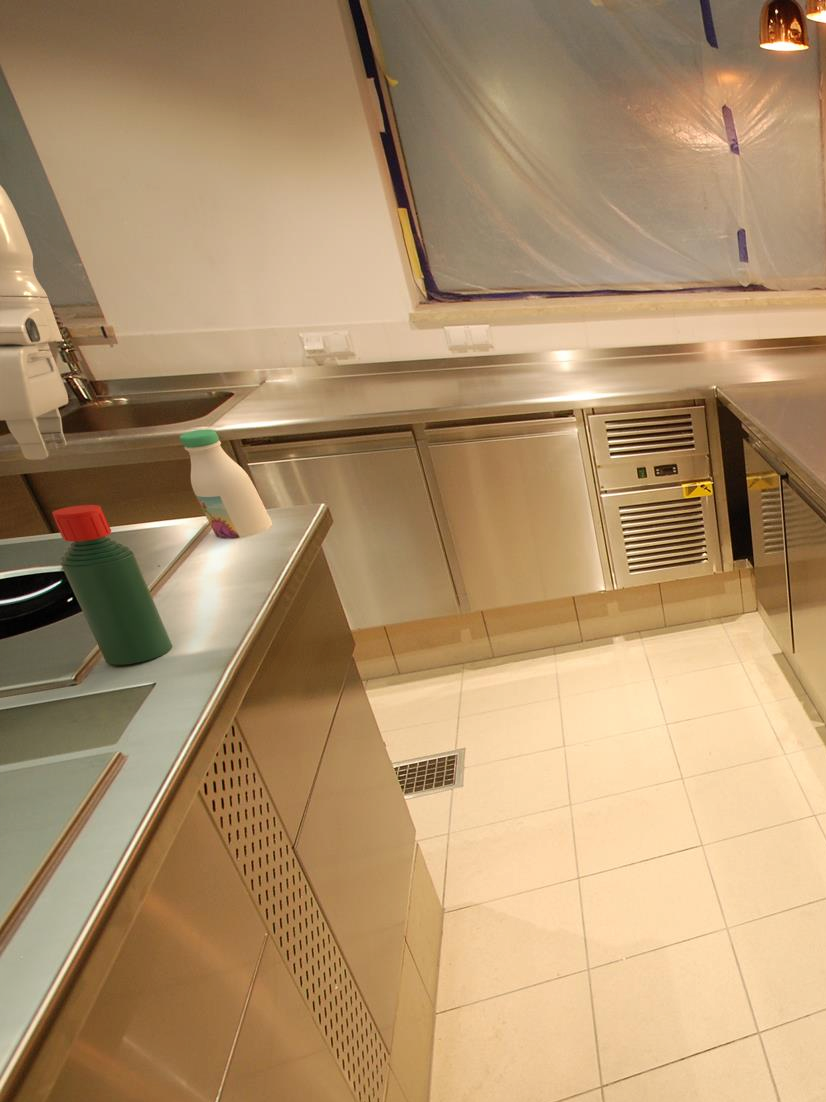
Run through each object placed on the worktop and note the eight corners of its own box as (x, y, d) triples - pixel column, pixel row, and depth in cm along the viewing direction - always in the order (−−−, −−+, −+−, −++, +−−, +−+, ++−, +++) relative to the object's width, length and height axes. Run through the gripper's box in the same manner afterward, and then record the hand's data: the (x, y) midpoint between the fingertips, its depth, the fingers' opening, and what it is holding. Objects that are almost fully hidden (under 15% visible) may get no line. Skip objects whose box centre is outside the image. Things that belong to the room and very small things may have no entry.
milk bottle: (276, 534, 147) (222, 422, 136) (285, 547, 142) (231, 432, 132) (222, 548, 142) (162, 433, 132) (229, 562, 138) (168, 444, 127)
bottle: (98, 669, 103) (30, 524, 95) (114, 648, 108) (51, 509, 100) (165, 658, 106) (105, 517, 98) (178, 639, 111) (121, 503, 103)
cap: (58, 543, 98) (46, 516, 96) (70, 533, 101) (59, 507, 99) (105, 538, 99) (94, 511, 98) (115, 529, 103) (104, 503, 101)
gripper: (-16, 323, 97) (29, 444, 102) (-73, 326, 82) (-16, 468, 87) (60, 324, 101) (100, 440, 106) (19, 327, 86) (68, 463, 91)
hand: (47, 453), depth 96 cm, fingers open, 8 cm apart
